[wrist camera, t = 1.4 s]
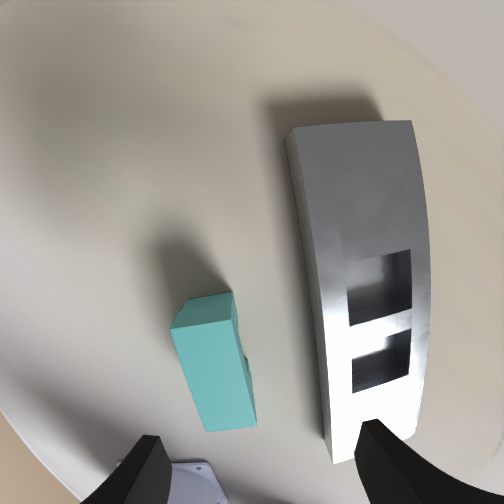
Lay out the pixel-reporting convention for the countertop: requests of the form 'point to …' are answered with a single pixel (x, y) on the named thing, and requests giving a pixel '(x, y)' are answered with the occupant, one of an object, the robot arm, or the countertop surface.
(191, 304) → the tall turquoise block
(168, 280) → the countertop surface
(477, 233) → the countertop surface
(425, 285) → the rail
